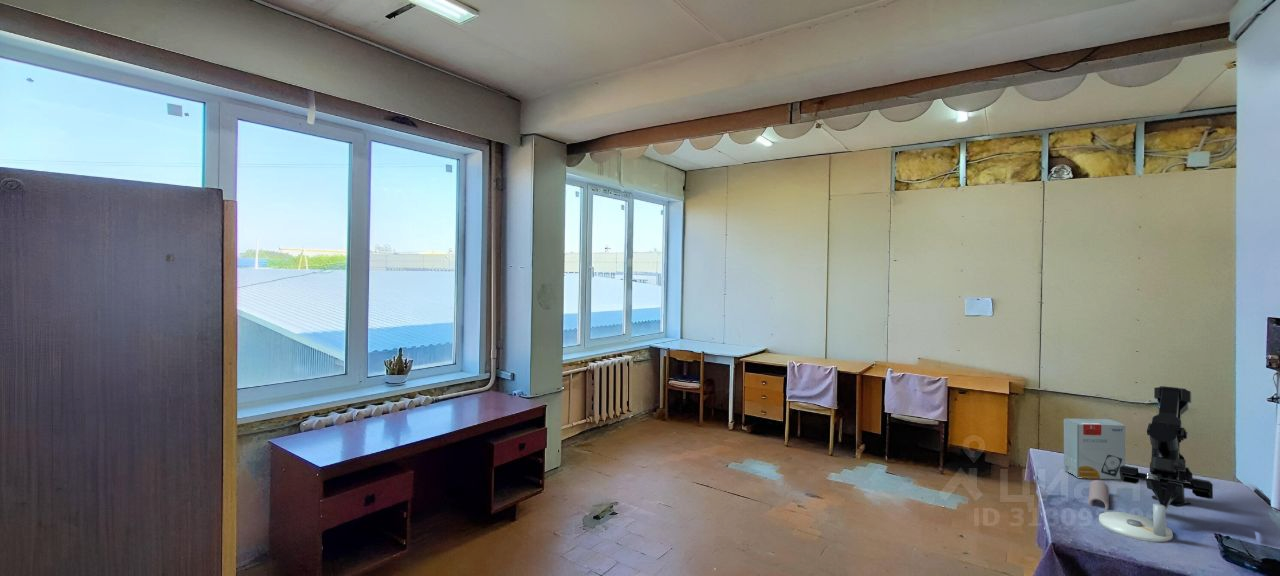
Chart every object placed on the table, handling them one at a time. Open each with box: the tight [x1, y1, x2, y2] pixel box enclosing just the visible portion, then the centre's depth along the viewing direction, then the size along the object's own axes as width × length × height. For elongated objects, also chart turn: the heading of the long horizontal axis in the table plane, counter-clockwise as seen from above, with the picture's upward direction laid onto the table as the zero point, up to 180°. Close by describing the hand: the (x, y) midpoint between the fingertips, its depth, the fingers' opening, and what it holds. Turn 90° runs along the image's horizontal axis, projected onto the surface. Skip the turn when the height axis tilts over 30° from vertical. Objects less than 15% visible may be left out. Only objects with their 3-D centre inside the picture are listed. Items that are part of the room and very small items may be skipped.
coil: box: [1088, 479, 1110, 511], centre depth 163 cm, size 5×5×18 cm
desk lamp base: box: [1098, 503, 1174, 543], centre depth 144 cm, size 15×15×9 cm
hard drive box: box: [1063, 418, 1126, 481], centre depth 183 cm, size 16×8×20 cm, turn 81°
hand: (1163, 508), depth 143 cm, fingers closed
